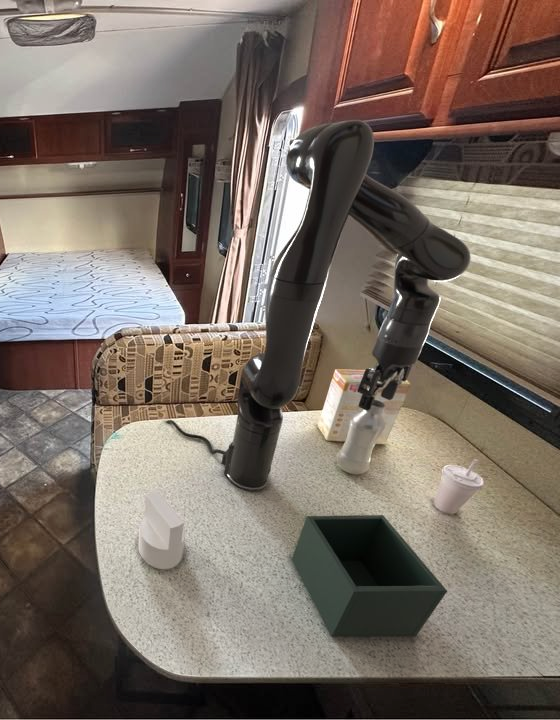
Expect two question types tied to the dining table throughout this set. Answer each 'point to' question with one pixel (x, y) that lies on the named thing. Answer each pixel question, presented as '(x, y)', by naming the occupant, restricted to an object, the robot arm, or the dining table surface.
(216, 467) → the dining table surface
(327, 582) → the trash bin
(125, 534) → the dining table surface
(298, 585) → the dining table surface
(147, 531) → the base with upright slab
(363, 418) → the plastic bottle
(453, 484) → the smoothie
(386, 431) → the coffeecake box
